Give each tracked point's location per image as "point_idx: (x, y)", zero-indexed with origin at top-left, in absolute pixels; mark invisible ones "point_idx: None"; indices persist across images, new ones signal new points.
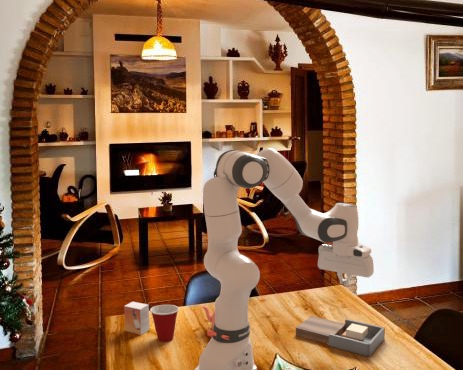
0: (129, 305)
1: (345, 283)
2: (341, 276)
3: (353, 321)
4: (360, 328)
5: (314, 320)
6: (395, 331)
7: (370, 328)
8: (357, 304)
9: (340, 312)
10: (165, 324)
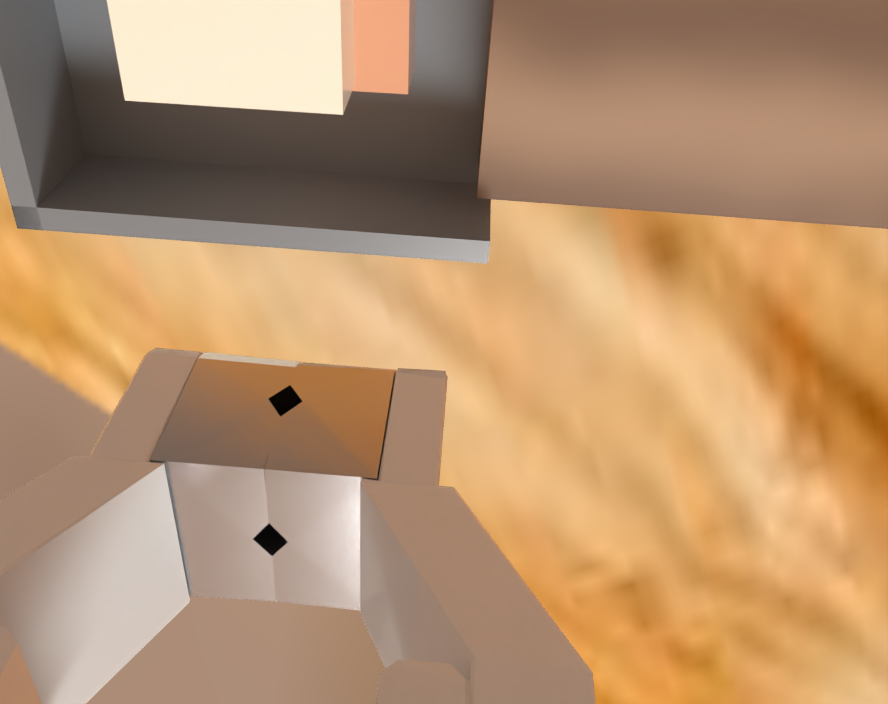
0: None
1: (214, 384)
2: (409, 658)
3: (383, 233)
4: (178, 6)
5: (869, 125)
6: (83, 357)
7: (184, 200)
8: None
9: (638, 498)
10: None
